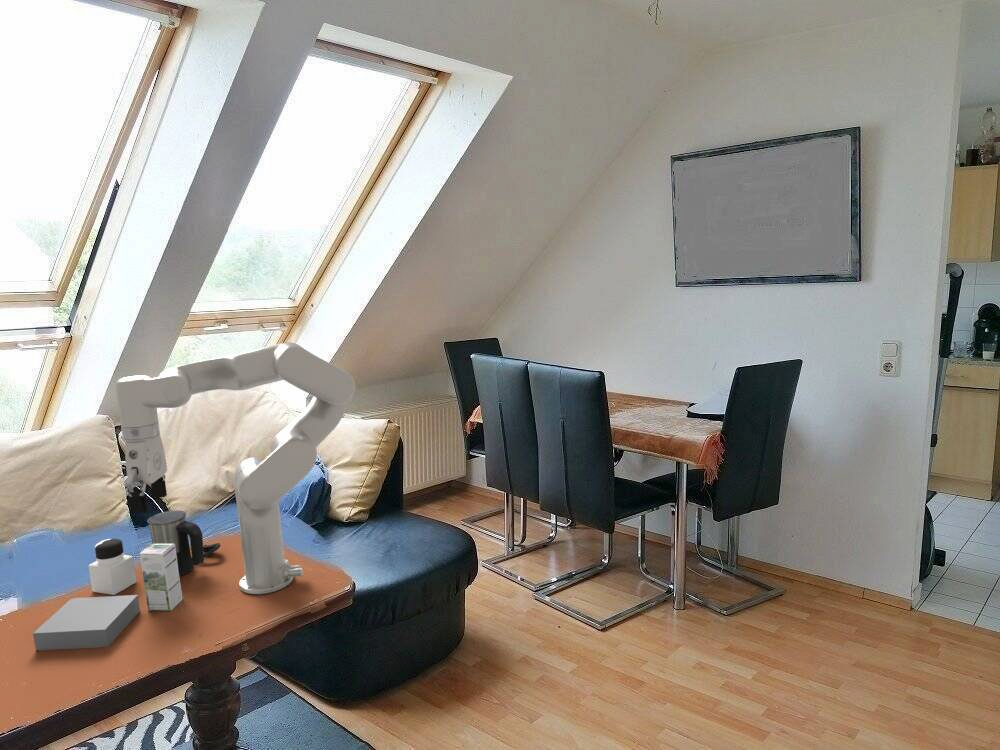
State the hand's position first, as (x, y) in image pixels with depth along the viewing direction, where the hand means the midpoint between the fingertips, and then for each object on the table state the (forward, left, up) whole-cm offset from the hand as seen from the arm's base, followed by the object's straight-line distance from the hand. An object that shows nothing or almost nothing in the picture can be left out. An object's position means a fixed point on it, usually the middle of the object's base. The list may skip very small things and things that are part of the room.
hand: (150, 504), depth 167 cm
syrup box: (0, 0, -25) cm, 25 cm away
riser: (+12, +9, -25) cm, 29 cm away
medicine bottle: (+17, -11, -25) cm, 32 cm away
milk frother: (+3, -22, -25) cm, 34 cm away
